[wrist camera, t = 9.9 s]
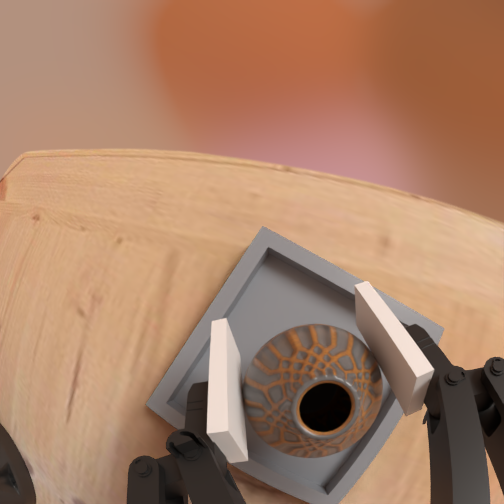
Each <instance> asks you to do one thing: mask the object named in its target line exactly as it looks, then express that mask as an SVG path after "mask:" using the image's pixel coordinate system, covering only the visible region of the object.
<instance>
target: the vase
mask: <svg viewBox="0 0 504 504" xmlns="http://www.w3.org/2000/svg"><path fill="white" fill-rule="evenodd" d="M382 395H383V381H382V375H381V371H380V368H379V365H378V363H377V361H376V359H375V357H374V355H373V353H372V352H371V351H370V349H369V348H368V347H367V346H366V345H365V344H364V343H363V342H362V341H361V340H360V339H359V338H358V337H356V336H355V335H353V334H352V333H350V332H348V331H346V330H344V329H341V328H338V327H335V326H331V325H325V324H306V325H300V326H296V327H293V328H290V329H287V330H285V331H283V332H281V333H279V334H278V335H276V336H274V337H273V338H271V339H270V340H269V341H268V342H266V343H265V344H264V345H263V346H262V347H261V348H260V349H259V351H258V352H257V353H256V354H255V356H254V357H253V359H252V361H251V362H250V364H249V366H248V369H247V371H246V374H245V378H244V383H243V402H244V410H245V413H246V416H247V418H248V421H249V423H250V424H251V426H252V428H253V429H254V431H255V432H256V433H257V435H258V436H259V437H260V438H261V439H262V440H263V441H264V442H266V443H267V444H268V445H270V446H271V447H273V448H274V449H276V450H278V451H280V452H282V453H284V454H287V455H291V456H295V457H300V458H320V457H325V456H329V455H333V454H336V453H338V452H341V451H343V450H345V449H346V448H348V447H350V446H351V445H353V444H354V443H356V442H357V441H358V440H359V439H360V438H361V437H362V436H363V435H364V434H365V433H366V432H367V431H368V430H369V428H370V427H371V425H372V424H373V422H374V420H375V419H376V416H377V414H378V412H379V409H380V406H381V401H382Z"/></svg>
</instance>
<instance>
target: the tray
mask: <svg viewBox="0 0 504 504" xmlns="http://www.w3.org/2000/svg"><path fill="white" fill-rule="evenodd" d="M363 282H364V281H362V280H361V279H359V278H357V277H355V276H353V275H352V274H350V273H348V272H346V271H345V270H343V269H341V268H339V267H337V266H336V265H334V264H332V263H330V262H328V261H327V260H325V259H323V258H321V257H319V256H317V255H316V254H314V253H312V252H310V251H308V250H306V249H305V248H303V247H301V246H299V245H297V244H295V243H294V242H292V241H290V240H288V239H286V238H284V237H282V236H281V235H279V234H277V233H275V232H273V231H271V230H269V229H267V228H266V227H264V226H262V228H261V229H260V231H259V232H258V234H257V235H256V237H255V238H254V240H253V241H252V243H251V244H250V246H249V247H248V249H247V250H246V252H245V253H244V255H243V257H242V258H241V260H240V261H239V263H238V264H237V266H236V267H235V269H234V270H233V272H232V273H231V275H230V276H229V278H228V279H227V281H226V282H225V284H224V285H223V287H222V288H221V290H220V291H219V293H218V294H217V296H216V297H215V299H214V300H213V302H212V304H211V305H210V307H209V308H208V310H207V311H206V313H205V314H204V316H203V317H202V319H201V320H200V322H199V323H198V325H197V326H196V328H195V329H194V331H193V332H192V334H191V336H190V337H189V339H188V340H187V342H186V343H185V345H184V346H183V348H182V349H181V351H180V352H179V354H178V355H177V357H176V358H175V360H174V362H173V363H172V365H171V366H170V368H169V369H168V371H167V372H166V374H165V375H164V377H163V378H162V380H161V381H160V383H159V385H158V386H157V388H156V389H155V391H154V392H153V394H152V395H151V397H150V398H149V400H148V401H147V403H146V406H148V407H149V408H150V409H151V410H153V411H154V412H155V413H156V414H158V415H159V416H160V417H162V418H163V419H164V420H165V421H167V422H168V423H169V424H171V425H172V426H173V427H175V428H176V429H178V430H179V429H184V427H185V416H186V406H187V396H188V392H189V390H190V388H191V386H192V384H193V383H200V382H206V381H209V361H210V342H211V325H212V321H215V320H219V319H224V318H227V321H228V324H229V327H230V329H231V332H232V335H233V338H234V340H235V343H236V346H237V348H238V351H239V353H240V358H241V373H242V387H243V383H244V378H245V374H246V371H247V369H248V366H249V364H250V362H251V361H252V359H253V357H254V356H255V354H256V353H257V352H258V351H259V349H260V348H261V347H262V346H263V345H264V344H265V343H266V342H268V341H269V340H270V339H271V338H273V337H274V336H276V335H278V334H279V333H281V332H283V331H285V330H287V329H290V328H293V327H296V326H300V325H306V324H325V325H331V326H335V327H338V328H341V329H344V330H346V331H348V332H350V333H352V334H353V335H355V336H356V337H358V338H359V339H360V340H361V341H362V342H363V343H364V344H365V345H366V346H367V347H368V345H367V343H366V341H365V340H364V338H363V336H362V334H361V333H360V331H359V329H358V327H357V326H356V306H355V287H354V285H356V284H359V283H363ZM372 287H373V286H372ZM373 288H374V289H375V291H376V292H377V293H378V294H379V296H380V297H381V298H382V300H383V301H384V302H385V303H386V305H387V306H388V307H389V308H390V310H391V311H392V312H393V314H394V315H395V316H396V318H397V319H398V320H399V322H400V323H401V324H402V325H403V327H404V328H405V327H408V326H410V325H413V324H417V325H419V326H420V327H422V328H424V329H425V330H426V332H427V333H428V334H429V335H430V338H432V339H433V340H434V342H435V343H436V344H437V345H438V343H439V341H440V338H441V336H442V333H443V331H444V328H443V327H441V326H440V325H438V324H436V323H435V322H433V321H431V320H430V319H428V318H426V317H424V316H423V315H421V314H419V313H418V312H416V311H414V310H413V309H411V308H409V307H407V306H406V305H404V304H402V303H401V302H399V301H397V300H395V299H394V298H392V297H390V296H389V295H387V294H385V293H383V292H382V291H380V290H378V289H376V288H375V287H373ZM368 348H369V347H368ZM370 351H371V350H370ZM379 368H380V366H379ZM380 371H381V375H382V381H383V395H382V401H381V406H380V409H379V412H378V414H377V416H376V419H375V420H374V422H373V424H372V425H371V427H370V428H369V430H368V431H367V432H366V433H365V434H364V435H363V436H362V437H361V438H360V439H359V440H358V441H357V442H356V443H354V444H353V445H351V446H350V447H348V448H346V449H345V450H343V451H341V452H338V453H336V454H333V455H329V456H325V457H320V458H300V457H295V456H291V455H287V454H284V453H282V452H280V451H278V450H276V449H274V448H273V447H271V446H270V445H268V444H267V443H266V442H264V441H263V440H262V439H261V438H260V437H259V436H258V435H257V433H256V432H255V431H254V429H253V428H252V426H251V424H250V423H249V421H248V418H247V416H246V413H245V410H244V414H245V427H246V439H247V451H248V461H243V462H235V463H230V462H229V461H228V460H227V459H226V460H227V462H228V463H229V464H231V465H233V466H235V467H236V468H238V469H240V470H242V471H243V472H245V473H247V474H249V475H251V476H253V477H254V478H256V479H258V480H260V481H262V482H264V483H266V484H268V485H270V486H272V487H274V488H276V489H278V490H281V491H283V492H285V493H287V494H289V495H292V496H294V497H296V498H298V499H301V500H303V501H306V502H308V503H311V504H338V503H339V502H340V501H341V500H342V499H343V498H344V496H345V495H346V494H347V493H348V492H349V490H350V489H351V488H352V487H353V486H354V484H355V483H356V482H357V481H358V479H359V478H360V477H361V476H362V474H363V473H364V472H365V470H366V469H367V468H368V466H369V465H370V464H371V462H372V461H373V459H374V458H375V457H376V455H377V454H378V452H379V451H380V449H381V448H382V447H383V445H384V444H385V442H386V441H387V439H388V437H389V436H390V434H391V433H392V431H393V430H394V428H395V426H396V425H397V423H398V422H399V420H400V418H401V417H402V415H403V413H404V412H403V410H402V408H401V406H400V404H399V402H398V400H397V398H396V396H395V394H394V392H393V391H392V389H391V387H390V385H389V383H388V381H387V379H386V378H385V376H384V374H383V372H382V370H381V368H380Z"/></svg>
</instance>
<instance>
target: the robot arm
mask: <svg viewBox="0 0 504 504" xmlns="http://www.w3.org/2000/svg"><path fill="white" fill-rule="evenodd" d="M354 287H355V306H356V326H357V327H358V329H359V331H360V333H361V334H362V336H363V338H364V340H365V341H366V343H367V345H368V347H369V349H370V350H371V352H372V353H373V355H374V357H375V359H376V361H377V363H378V365H379V366H380V368H381V370H382V372H383V374H384V376H385V378H386V379H387V381H388V383H389V385H390V387H391V389H392V391H393V392H394V394H395V396H396V398H397V400H398V402H399V404H400V406H401V408H402V410H403V412H404V414H405V416H408V415H410V414H412V413H415V412H417V411H419V410H421V409H422V406H423V403H425V405H426V407H427V408H428V409H427V411H426V414H425V416H424V419H423V424H425V423H426V420H427V428H428V439H429V453H430V475H431V504H490V489H489V477H488V467H487V459H486V452H485V448H486V451H487V453H488V455H489V458H490V460H491V463H492V465H493V468H494V470H495V473H496V475H497V478H498V481H499V483H500V486H501V489H502V492H503V495H504V359H503V358H500V357H493V358H490V359H489V360H488V361H486V363H485V365H484V367H483V368H478V369H473V370H464V369H463V368H461V367H458V366H453V365H452V364H451V362H450V361H449V360H448V358H447V357H446V356H445V355H444V353H443V352H442V351H441V349H440V348H439V347H438V346H437V344H436V343H435V342H434V340H433V339H432V338H430V335H429V334H428V333H427V332H426V330H425V329H424V328H422V327H420V326H419V325H417V324H413V325H410V326H408V327H405V328H404V327H403V325H402V324H401V323H400V322H399V320H398V319H397V318H396V316H395V315H394V314H393V312H392V311H391V310H390V308H389V307H388V306H387V305H386V303H385V302H384V301H383V300H382V298H381V297H380V296H379V294H378V293H377V292H376V291H375V289H374V288H373V287H372V286H371V284H370V283H369V282H368V281H366V282H363V283H359V284H356V285H354ZM166 449H167V450H168V451H169V452H170V453H171V454H170V455H168V456H165V457H162V458H159V459H156V460H155V459H154V458H152V457H150V456H140V457H138V458H136V459H134V460H133V461H132V463H131V464H130V467H129V472H128V488H127V504H188V494H189V497H190V500H191V502H192V504H246V503H245V501H244V499H243V497H242V495H241V493H240V491H239V489H238V487H237V485H236V483H235V481H234V479H233V477H232V475H231V473H230V471H229V470H228V469H227V460H228V461H229V462H230V463H235V462H243V461H248V451H247V439H246V427H245V414H244V402H243V387H242V373H241V358H240V353H239V351H238V348H237V346H236V343H235V340H234V338H233V335H232V332H231V329H230V327H229V324H228V321H227V318H224V319H219V320H215V321H212V325H211V342H210V361H209V381H206V382H200V383H193V384H192V386H191V388H190V390H189V392H188V396H187V406H186V416H185V427H184V429H179V430H177V431H175V432H173V433H172V434H171V435H170V436H169V437H168V440H167V442H166ZM226 459H227V460H226ZM0 504H36V498H35V492H34V487H33V484H32V481H31V478H30V475H29V472H28V470H27V467H26V465H25V463H24V461H23V459H22V457H21V455H20V453H19V451H18V449H17V447H16V445H15V444H14V442H13V440H12V439H11V437H10V436H9V434H8V433H7V431H6V430H5V429H4V427H3V426H2V425H1V424H0Z"/></svg>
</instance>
